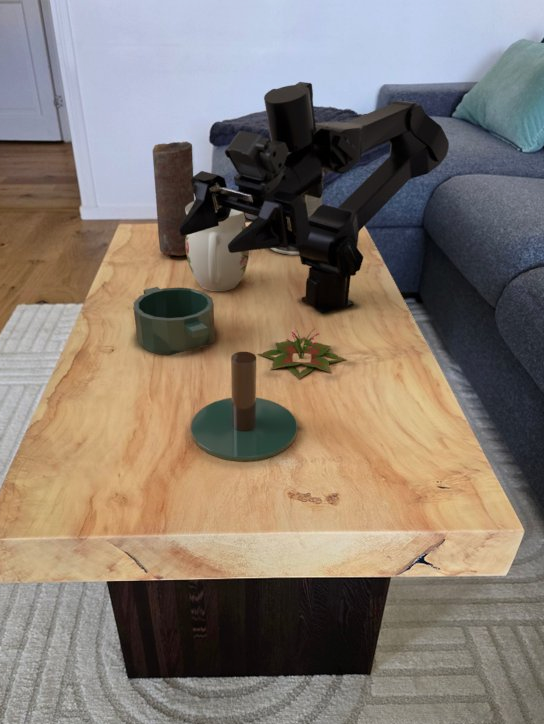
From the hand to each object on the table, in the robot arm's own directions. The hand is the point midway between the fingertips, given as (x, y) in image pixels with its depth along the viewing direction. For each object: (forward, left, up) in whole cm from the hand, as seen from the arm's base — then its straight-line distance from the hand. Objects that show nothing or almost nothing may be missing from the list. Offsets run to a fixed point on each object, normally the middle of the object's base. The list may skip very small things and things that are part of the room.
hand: (203, 240), depth 80 cm
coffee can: (-37, -33, -17) cm, 52 cm away
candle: (-15, -41, -17) cm, 47 cm away
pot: (+1, -9, -17) cm, 19 cm away
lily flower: (-11, +7, -17) cm, 22 cm away
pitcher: (-14, -23, -17) cm, 32 cm away
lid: (+5, +18, -16) cm, 25 cm away
